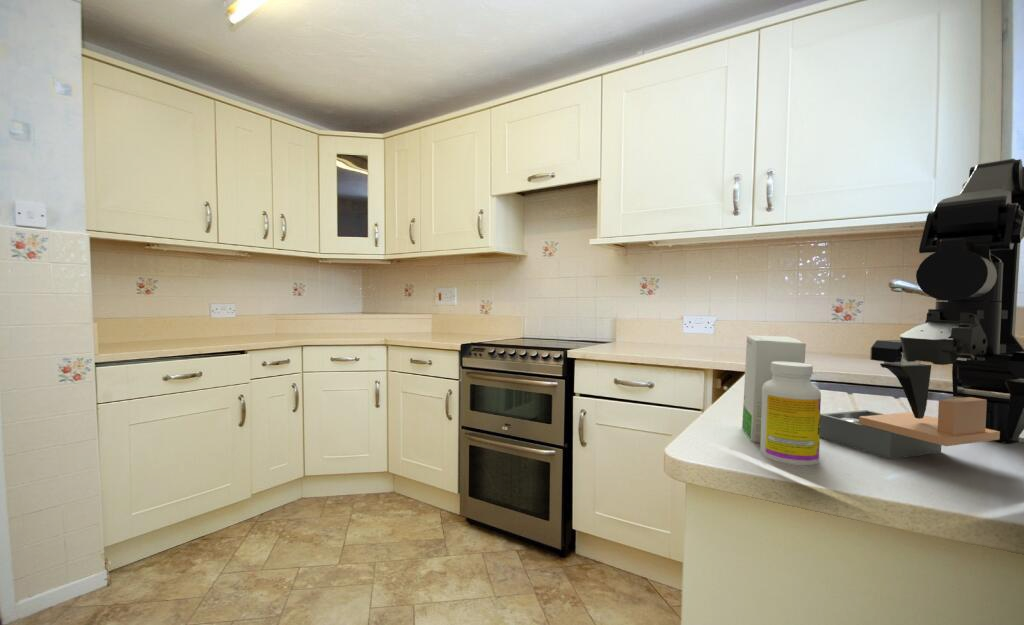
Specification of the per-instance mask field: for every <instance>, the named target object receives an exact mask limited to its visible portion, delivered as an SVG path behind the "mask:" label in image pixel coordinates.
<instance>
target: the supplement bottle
mask: <svg viewBox="0 0 1024 625" xmlns="http://www.w3.org/2000/svg"><path fill="white" fill-rule="evenodd" d="M813 370H814V367H813V365H812V364H810V363H798V362H784V361H775V362H771V371H772V372H771V373H772V374H773V375H772V379H771V380H769V381H767V382H765V383H764V385H763V386H762V410H761V442H759V443H760V444H759V446H760V450H759V452H760V454H761V455H762V456H763V457H765V458H767V459H770V460H772V461H776V462H779V463H782V464H787V465H788V464H789V465H795V466H796V465H797V466H814V465H817V464H818V463H819V461H820V443H821V441H820V440H821V439H820V414H821V402H822V401H821V398H822V393H821V390H820V389H819V387H818V386H817V385H815V384H813V383H812V382H811V378H812V376H813V372H814V371H813Z"/></svg>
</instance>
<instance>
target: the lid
mask: <svg viewBox="0 0 1024 625" xmlns="http://www.w3.org/2000/svg"><path fill="white" fill-rule="evenodd" d="M986 407H987V400H985V399H979V398H973V397H954V398H953V397H952V398H942V399H938V409H937V410H938V411H937V417H933V416H928V415H925V414H924V417H923V418H922V419H917V418H915V417H914V414H913V412H910V411H909V412H906V411H905V412H898V413H896V412H895V413H886V414H884V413H882V414H883V415H872V416H861V417H859V424H861V425H865V426H869V427H873V428H877V429H881V430H885V431H888V432H892V433H896V434H900V435H904V436H908V437H912V438H916V439H919V440H923V441H927V442H931V443H935V444H939V445H941V446H943V447H950V446H951V447H952V446H960V445H966V444H975V443H981V442H982V443H984V442H990V441H991V440H999V439H1000V431H995V430H990V429H986ZM991 442H992V441H991Z"/></svg>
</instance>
